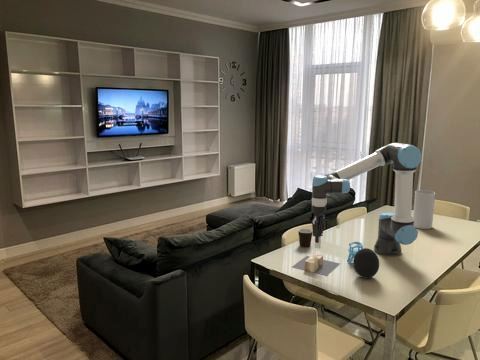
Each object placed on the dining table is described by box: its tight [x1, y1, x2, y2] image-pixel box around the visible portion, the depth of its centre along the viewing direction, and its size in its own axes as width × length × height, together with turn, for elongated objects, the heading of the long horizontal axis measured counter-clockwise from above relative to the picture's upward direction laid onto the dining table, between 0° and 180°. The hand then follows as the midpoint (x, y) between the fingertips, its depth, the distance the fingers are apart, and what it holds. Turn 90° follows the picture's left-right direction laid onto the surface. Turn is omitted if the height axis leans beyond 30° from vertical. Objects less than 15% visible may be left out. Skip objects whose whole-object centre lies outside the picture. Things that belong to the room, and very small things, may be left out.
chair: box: [346, 241, 364, 265], centre depth 212 cm, size 8×8×12 cm
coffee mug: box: [297, 228, 313, 248], centre depth 239 cm, size 12×9×10 cm
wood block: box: [305, 253, 324, 273], centre depth 206 cm, size 5×5×12 cm
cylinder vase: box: [412, 189, 436, 230], centre depth 272 cm, size 12×12×25 cm
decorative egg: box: [352, 247, 380, 279], centre depth 194 cm, size 12×12×15 cm
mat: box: [291, 255, 341, 277], centre depth 209 cm, size 20×19×1 cm
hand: (317, 247), depth 209 cm, fingers closed
